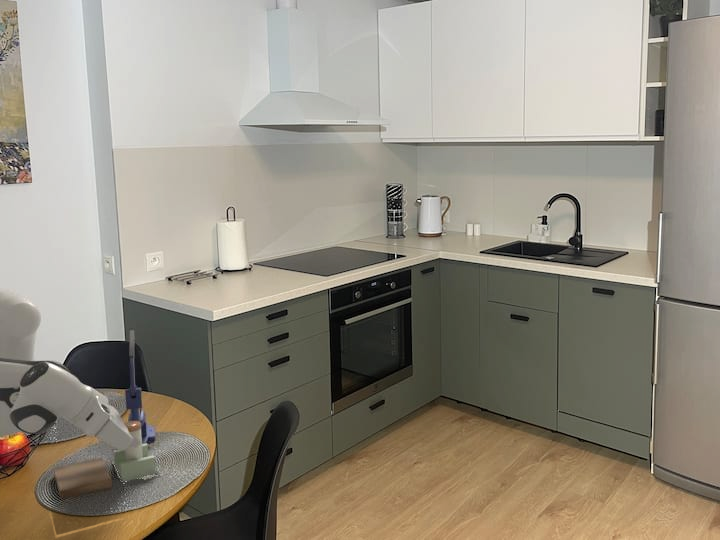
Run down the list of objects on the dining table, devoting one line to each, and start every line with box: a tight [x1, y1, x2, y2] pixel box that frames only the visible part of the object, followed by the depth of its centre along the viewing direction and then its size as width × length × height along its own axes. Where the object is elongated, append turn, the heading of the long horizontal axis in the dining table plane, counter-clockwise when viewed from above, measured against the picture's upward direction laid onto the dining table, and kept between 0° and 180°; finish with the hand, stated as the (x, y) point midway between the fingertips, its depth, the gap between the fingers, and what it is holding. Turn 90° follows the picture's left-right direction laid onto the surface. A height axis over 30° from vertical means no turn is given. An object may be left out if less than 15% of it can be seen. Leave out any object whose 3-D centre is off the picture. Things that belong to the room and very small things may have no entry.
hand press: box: [124, 330, 156, 446], centre depth 181 cm, size 19×9×28 cm, turn 17°
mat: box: [118, 468, 162, 488], centre depth 167 cm, size 14×9×1 cm, turn 30°
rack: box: [113, 443, 158, 482], centre depth 166 cm, size 10×8×4 cm
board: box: [53, 457, 113, 501], centre depth 161 cm, size 12×11×2 cm
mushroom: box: [124, 421, 143, 462], centre depth 165 cm, size 4×4×9 cm
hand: (135, 439), depth 165 cm, fingers closed on mushroom, 4 cm apart
